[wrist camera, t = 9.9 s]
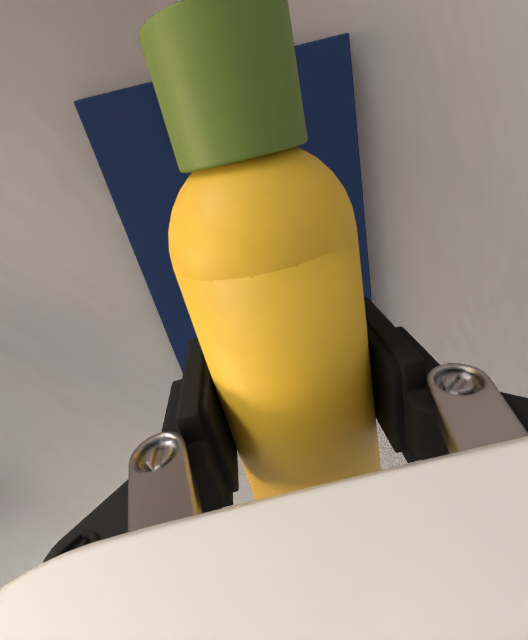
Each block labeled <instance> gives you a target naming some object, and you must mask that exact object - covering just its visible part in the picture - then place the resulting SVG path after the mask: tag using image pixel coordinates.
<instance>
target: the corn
mask: <svg viewBox="0 0 528 640" xmlns="http://www.w3.org/2000/svg"><path fill="white" fill-rule="evenodd" d="M139 39H140V43H141V46H142V49H143V52H144V56H145V59H146V62H147V66H148V69H149V72H150V75H151V79H152V82H153V85H154V89H155V92H156V95H157V98H158V102H159V105H160V108H161V111H162V115H163V118H164V121H165V125H166V128H167V131H168V134H169V138H170V141H171V144H172V147H173V151H174V154H175V157H176V161H177V164H178V167H179V170H180V172H181V173H190V172H192V173H191V174H190V175H189V177H188V179H187V180H186V182H185V183H184V185H183V186H182V188H181V189H180V191H179V193H178V196H177V198H176V201H175V203H174V206H173V209H172V212H171V218H170V224H169V230H168V239H169V253H170V258H171V262H172V266H173V270H174V272H175V275H176V278H177V281H178V284H179V287H180V289H181V292H182V295H183V298H184V301H185V303H186V306H187V309H188V312H189V315H190V318H191V320H192V323H193V326H194V329H195V332H196V334H197V337H198V340H199V343H200V346H201V349H202V351H203V354H204V357H205V360H206V363H207V365H208V368H209V371H210V374H211V377H212V380H213V382H214V385H215V388H216V391H217V394H218V396H219V399H220V402H221V405H222V408H223V411H224V413H225V416H226V419H227V422H228V425H229V427H230V430H231V433H232V436H233V439H234V442H235V444H236V447H237V450H238V453H239V456H240V458H241V461H242V464H243V467H244V470H245V472H246V475H247V478H248V481H249V484H250V487H251V489H252V492H253V495H254V498H255V500H259V499H263V498H267V497H271V496H275V495H279V494H283V493H288V492H292V491H296V490H300V489H304V488H308V487H312V486H317V485H321V484H325V483H329V482H333V481H337V480H342V479H346V478H350V477H354V476H358V475H363V474H367V473H371V472H375V471H379V470H381V467H380V457H379V447H378V437H377V427H376V416H375V406H374V396H373V386H372V376H371V366H370V355H369V345H368V335H367V325H366V315H365V304H364V294H363V284H362V274H361V264H360V254H359V243H358V233H357V226H356V221H355V217H354V212H353V207H352V204H351V202H350V200H349V197H348V195H347V193H346V190H345V188H344V187H343V185H342V184H341V182H340V181H339V180H338V178H337V177H336V175H335V174H334V173H333V171H331V170H330V169H329V168H328V167H327V166H326V165H325V164H324V163H323V162H322V161H320V160H319V159H318V158H317V157H315V156H313V155H312V154H310V153H308V152H306V151H305V150H303V149H301V148H299V147H297V146H300V145H302V144H305V143H306V142H307V139H308V138H307V131H306V124H305V117H304V111H303V104H302V97H301V90H300V83H299V76H298V69H297V62H296V56H295V49H294V42H293V35H292V28H291V21H290V14H289V7H288V0H181V1H178V2H176V3H174V4H172V5H170V6H168V7H166V8H164V9H162V10H161V11H159V12H158V13H156V14H155V15H153V16H152V17H151V18H149V19H148V20H147V21H146V22H145V23H144V24H143V25H142V27H141V29H140V32H139Z"/></svg>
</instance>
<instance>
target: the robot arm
mask: <svg viewBox="0 0 528 640" xmlns="http://www.w3.org/2000/svg"><path fill="white" fill-rule="evenodd" d="M364 304H365V315H366V325H367V335H368V345H369V355H370V366H371V376H372V386H373V396H374V406H375V416H376V419H377V420H378V422H379V424H380V426H381V428H382V429H383V431H384V433H385V435H386V437H387V438H388V440H389V442H390V444H391V446H392V447H393V449H394V451H395V452H396V453H398V452H402V454H403V455H404V457H405V459H406V461H407V462H408V463H409V464H405V465H401V466H396V467H392V468H388V469H384V470H379V471H375V472H371V473H367V474H363V475H358V476H354V477H350V478H346V479H342V480H337V481H333V482H329V483H325V484H321V485H317V486H312V487H308V488H304V489H300V490H296V491H292V492H288V493H283V494H279V495H275V496H271V497H267V498H263V499H259V500H255V501H251V502H247V503H242V504H238V505H234V506H231V505H233V492H236V491H238V490H239V483H238V460H237V447H236V444H235V442H234V439H233V436H232V433H231V430H230V427H229V425H228V422H227V419H226V416H225V413H224V411H223V408H222V405H221V402H220V399H219V396H218V394H217V391H216V388H215V385H214V382H213V380H212V377H211V374H210V371H209V368H208V365H207V363H206V360H205V357H204V354H203V351H202V349H201V346H200V343H199V340H198V337H197V338H193V339H190V340H189V344H188V350H187V355H186V361H185V367H184V372H183V378H182V379H181V380H177V381H174V382H173V383H172V386H171V391H170V396H169V400H168V405H167V409H166V414H165V419H164V423H163V428H162V432H161V433H158V434H155V435H153V436H151V437H149V438H147V439H146V440H145V441H143V442H142V443H141V444H140V445H139V446H138V447H137V448H136V449H135V450H134V452H133V454H132V455H131V457H130V461H129V479H128V480H127V481H126V482H125V483H124V484H123V485H121V486H120V487H119V488H118V489H117V490H116V491H115V492H114V493H112V494H111V495H110V496H109V497H108V498H107V499H106V500H105V501H103V502H102V503H101V504H100V505H99V506H98V507H97V508H96V509H94V510H93V511H92V512H91V513H90V514H89V515H88V516H87V517H85V518H84V519H83V520H82V521H81V522H80V523H79V524H78V525H76V526H75V527H74V528H73V529H72V530H71V531H70V532H69V533H67V534H66V535H65V536H64V537H63V538H62V539H61V540H60V541H59V542H58V543H57V544H56V545H55V546H54V547H53V548H52V549H51V551H50V552H49V553H48V555H47V556H46V558H45V559H44V561H43V563H42V564H40V565H38V566H36V567H34V568H32V569H31V570H29V571H27V572H26V573H24V574H22V575H21V576H19V577H17V578H16V579H14V580H12V581H11V582H9V583H8V584H6V585H5V586H3V587H2V588H1V589H0V640H528V398H524V397H520V396H516V395H511V394H507V393H503V392H499V390H498V389H497V387H496V386H495V384H494V383H493V381H492V380H491V379H490V377H489V376H488V375H487V374H486V373H485V372H483V371H482V370H480V369H478V368H476V367H473V366H470V365H466V364H460V363H448V364H443V365H440V364H439V363H438V362H437V361H436V360H435V359H434V358H433V357H432V356H431V355H430V354H429V353H428V352H427V351H426V350H425V349H424V348H423V347H422V346H421V345H420V344H419V343H418V342H417V341H416V340H415V339H414V338H413V337H412V336H411V335H410V334H409V333H408V332H407V331H406V330H405V329H404V328H403V327H400V326H399V327H395V326H394V325H393V324H392V323H391V322H390V321H389V320H388V319H387V318H386V317H385V316H384V315H383V314H382V313H381V311H380V310H379V309H378V308H377V307H376V306H375V305H374V304H373V303H372V302H371V301H370V300H369V299H368V298H367V297H366V296H365V297H364ZM418 460H422V461H418ZM414 461H418V462H414ZM410 462H413V463H410ZM226 506H230V507H226ZM223 507H226V508H223Z"/></svg>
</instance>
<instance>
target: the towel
mask: <svg viewBox="0 0 528 640" xmlns="http://www.w3.org/2000/svg"><path fill="white" fill-rule="evenodd" d="M294 49H295V56H296V62H297V69H298V76H299V83H300V90H301V97H302V104H303V111H304V117H305V124H306V131H307V138H308V139H307V142H306V143H305V144H302V145H300V146H297V147H299V148H301V149H303V150H305V151H306V152H308V153H310V154H312V155H313V156H315V157H317V158H318V159H319V160H320V161H322V162H323V163H324V164H325V165H326V166H327V167H328V168H329V169H330V170H331V171H333V173H334V174H335V175H336V177H337V178H338V180H339V181H340V182H341V184H342V185H343V187H344V188H345V190H346V193H347V195H348V197H349V200H350V202H351V204H352V207H353V212H354V217H355V221H356V226H357V233H358V243H359V254H360V264H361V274H362V284H363V294H364V297H365V296H366V297H367V298H368V299H369V300H370V301H371V302H372V300H371V288H370V276H369V264H368V253H367V241H366V229H365V217H364V205H363V194H362V182H361V170H360V158H359V147H358V135H357V123H356V111H355V100H354V88H353V76H352V64H351V53H350V41H349V33H345V34H341V35H337V36H333V37H329V38H325V39H321V40H317V41H313V42H309V43H305V44H301V45H297V46H294ZM74 104H75V106H76V109H77V111H78V114H79V116H80V119H81V121H82V124H83V126H84V129H85V131H86V134H87V136H88V139H89V141H90V144H91V146H92V148H93V151H94V153H95V156H96V158H97V161H98V163H99V166H100V168H101V171H102V173H103V176H104V178H105V181H106V183H107V186H108V188H109V191H110V193H111V196H112V198H113V201H114V203H115V206H116V208H117V211H118V213H119V216H120V218H121V221H122V223H123V226H124V228H125V231H126V233H127V236H128V238H129V241H130V243H131V246H132V248H133V251H134V253H135V256H136V258H137V261H138V263H139V266H140V268H141V270H142V273H143V275H144V278H145V280H146V283H147V285H148V288H149V290H150V293H151V295H152V298H153V300H154V303H155V305H156V308H157V310H158V313H159V315H160V318H161V320H162V323H163V325H164V328H165V330H166V333H167V335H168V338H169V340H170V343H171V345H172V348H173V350H174V353H175V355H176V358H177V360H178V363H179V365H180V368H181V370H182V373H183V372H184V367H185V361H186V355H187V350H188V344H189V340H190V339H193V338H197V334H196V332H195V329H194V326H193V323H192V320H191V318H190V315H189V312H188V309H187V306H186V303H185V301H184V298H183V295H182V292H181V289H180V287H179V284H178V281H177V278H176V275H175V272H174V270H173V266H172V262H171V258H170V253H169V239H168V230H169V224H170V218H171V212H172V209H173V206H174V203H175V201H176V198H177V196H178V193H179V191H180V189H181V188H182V186H183V185H184V183H185V182H186V180H187V179H188V177H189V175H190V174H191V173H192V172H190V173H181V172H180V170H179V167H178V164H177V161H176V157H175V154H174V151H173V147H172V144H171V141H170V138H169V134H168V131H167V128H166V125H165V121H164V118H163V115H162V111H161V108H160V105H159V102H158V98H157V95H156V92H155V89H154V85H153V82H149V83H145V84H141V85H137V86H133V87H129V88H125V89H121V90H117V91H113V92H109V93H105V94H101V95H97V96H93V97H89V98H85V99H81V100H77V101H74Z"/></svg>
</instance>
